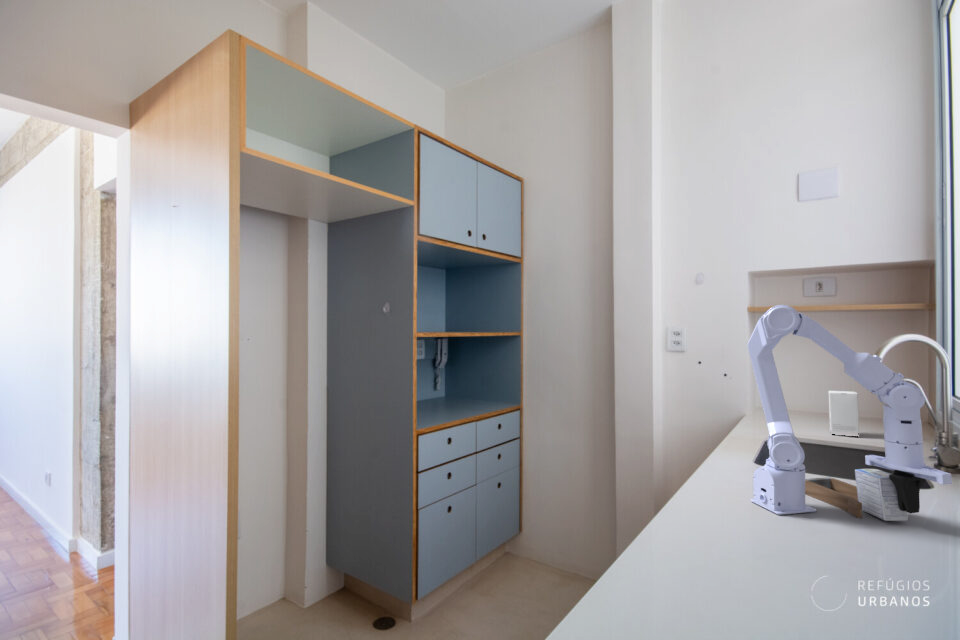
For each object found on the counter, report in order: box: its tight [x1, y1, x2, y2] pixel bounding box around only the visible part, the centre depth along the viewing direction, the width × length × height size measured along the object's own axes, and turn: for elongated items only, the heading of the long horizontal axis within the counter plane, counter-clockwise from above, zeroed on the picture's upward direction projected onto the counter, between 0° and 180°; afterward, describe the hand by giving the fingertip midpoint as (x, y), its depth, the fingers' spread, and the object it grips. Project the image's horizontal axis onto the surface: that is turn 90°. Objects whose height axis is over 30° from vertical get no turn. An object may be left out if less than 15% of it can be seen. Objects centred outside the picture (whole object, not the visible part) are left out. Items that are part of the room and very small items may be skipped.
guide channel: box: [805, 476, 863, 519], centre depth 105 cm, size 11×15×3 cm
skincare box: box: [827, 390, 860, 434], centre depth 168 cm, size 8×7×16 cm
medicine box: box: [854, 468, 909, 522], centre depth 97 cm, size 8×4×9 cm, turn 172°
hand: (908, 510), depth 92 cm, fingers closed, pressing on medicine box
